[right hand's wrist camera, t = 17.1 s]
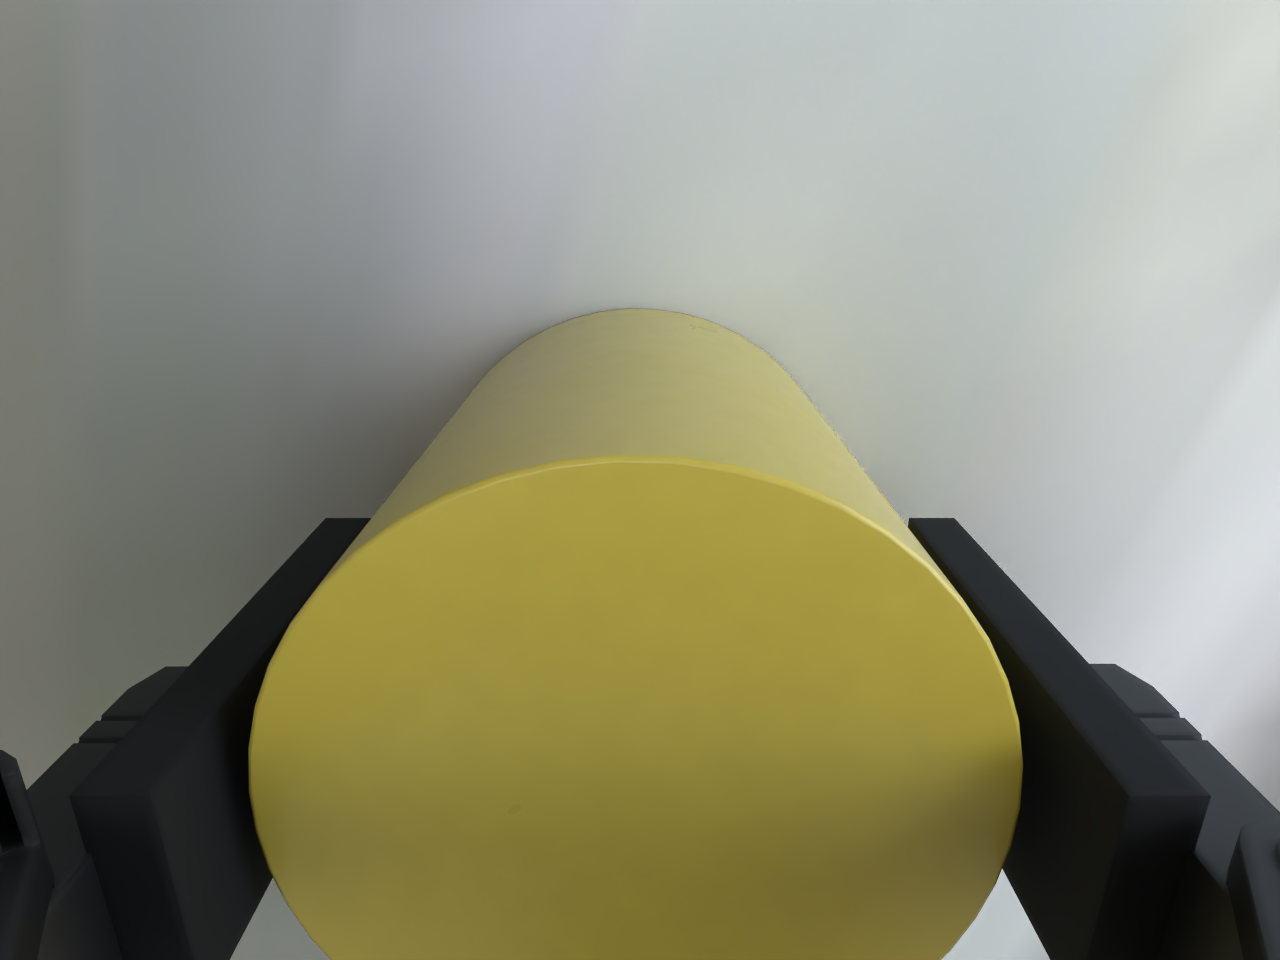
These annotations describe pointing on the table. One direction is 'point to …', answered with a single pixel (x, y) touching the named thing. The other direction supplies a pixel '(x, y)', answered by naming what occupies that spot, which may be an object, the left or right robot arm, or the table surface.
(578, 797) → the canister
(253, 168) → the table surface
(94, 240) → the table surface
